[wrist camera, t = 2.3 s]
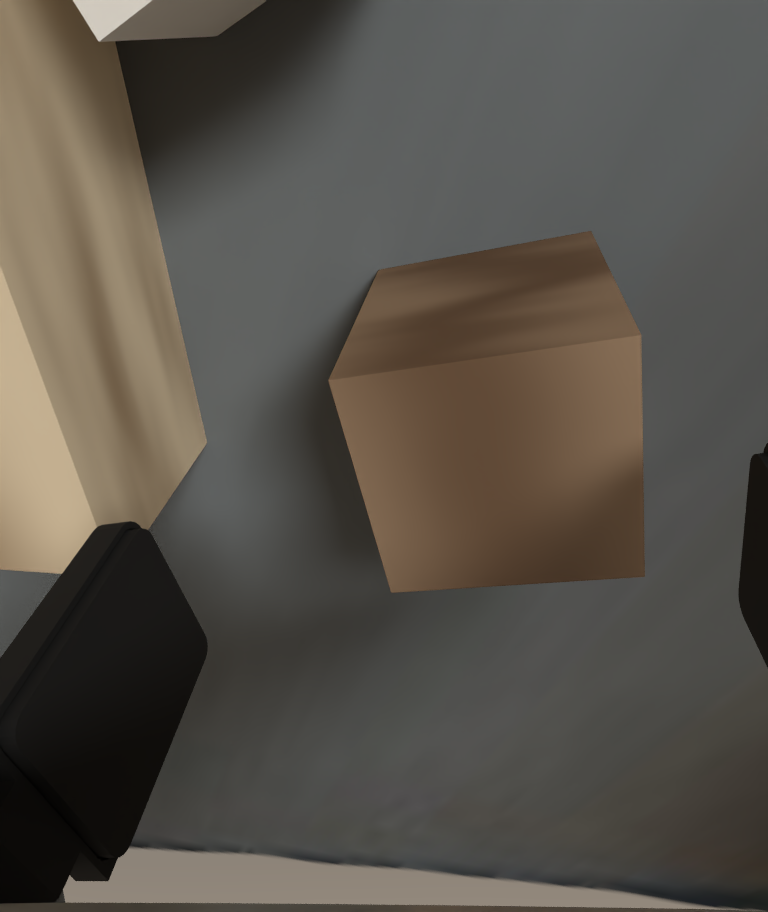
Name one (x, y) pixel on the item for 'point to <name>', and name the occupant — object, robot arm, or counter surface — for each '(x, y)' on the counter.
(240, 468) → the counter surface
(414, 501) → the walnut block
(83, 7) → the offwhite cube
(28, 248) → the maple block
